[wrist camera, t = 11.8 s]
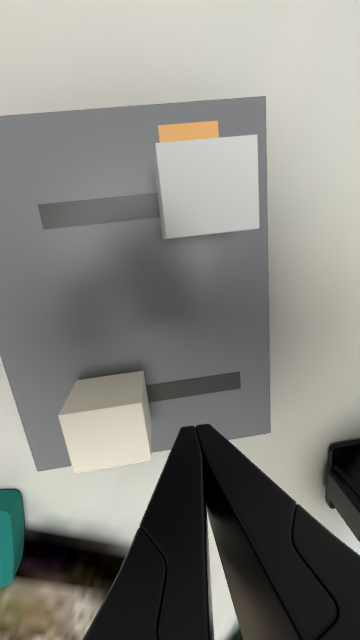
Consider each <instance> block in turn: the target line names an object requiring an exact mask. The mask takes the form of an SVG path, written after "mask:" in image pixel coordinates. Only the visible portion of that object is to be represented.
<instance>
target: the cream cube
mask: <svg viewBox="0 0 360 640" xmlns="http://www.w3.org/2000/svg"><path fill="white" fill-rule="evenodd" d="M58 417H59V420H60V424H61V428H62V431H63V435H64V439H65V442H66V446H67V450H68V453H69V457H70V461H71V465H72V468H73V472H74V474H75V473H81V472H87V471H93V470H99V469H105V468H111V467H116V466H122V465H128V464H134V463H140V462H146V461H151V415H150V409H149V402H148V396H147V390H146V383H145V377H144V371H137V372H130V373H123V374H116V375H109V376H102V377H95V378H89V379H82V380H77V381H76V383H75V385H74V387H73V389H72V390H71V392H70V394H69V396H68V398H67V400H66V402H65V404H64V406H63V407H62V409H61V411H60V413H59V415H58Z"/></svg>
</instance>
